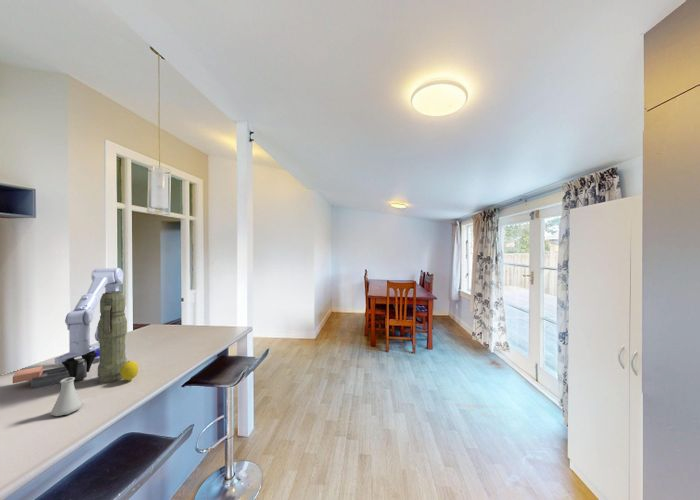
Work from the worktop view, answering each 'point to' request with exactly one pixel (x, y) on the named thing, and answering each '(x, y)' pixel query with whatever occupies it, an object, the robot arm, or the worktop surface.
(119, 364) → the green stone statue
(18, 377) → the orange square block
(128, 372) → the lemon
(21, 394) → the worktop surface
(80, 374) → the plug
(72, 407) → the flask
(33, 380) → the socket plate
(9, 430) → the worktop surface
